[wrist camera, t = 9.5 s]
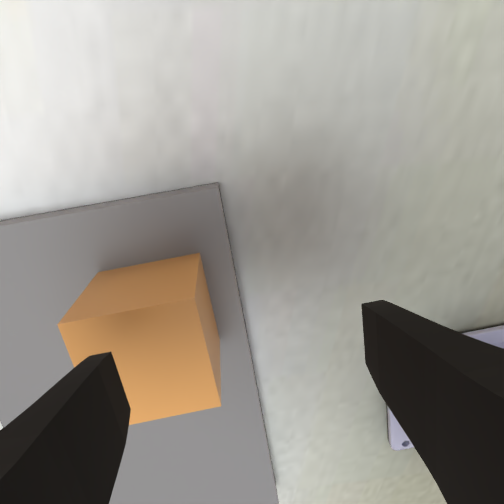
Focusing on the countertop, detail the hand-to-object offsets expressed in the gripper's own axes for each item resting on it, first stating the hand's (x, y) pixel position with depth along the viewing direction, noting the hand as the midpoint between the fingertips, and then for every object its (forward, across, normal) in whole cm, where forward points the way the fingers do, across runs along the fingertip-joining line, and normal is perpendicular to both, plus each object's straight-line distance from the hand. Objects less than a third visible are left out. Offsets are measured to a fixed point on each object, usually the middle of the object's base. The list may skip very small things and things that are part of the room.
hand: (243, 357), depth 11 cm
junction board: (+10, +7, +7) cm, 14 cm away
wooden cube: (+8, +4, +2) cm, 10 cm away
